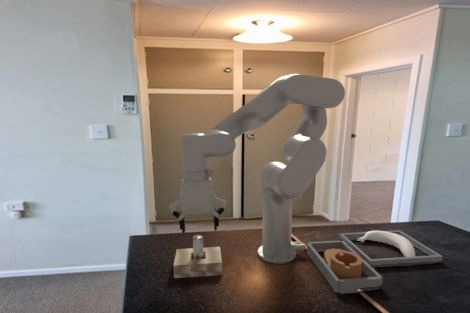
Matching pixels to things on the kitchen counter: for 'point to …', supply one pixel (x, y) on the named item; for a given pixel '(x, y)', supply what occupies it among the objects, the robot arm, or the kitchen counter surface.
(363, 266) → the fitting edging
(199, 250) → the steel peg
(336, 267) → the bracket
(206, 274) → the hole block
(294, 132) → the robot arm
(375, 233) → the banana
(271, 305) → the kitchen counter surface
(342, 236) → the banana edging
